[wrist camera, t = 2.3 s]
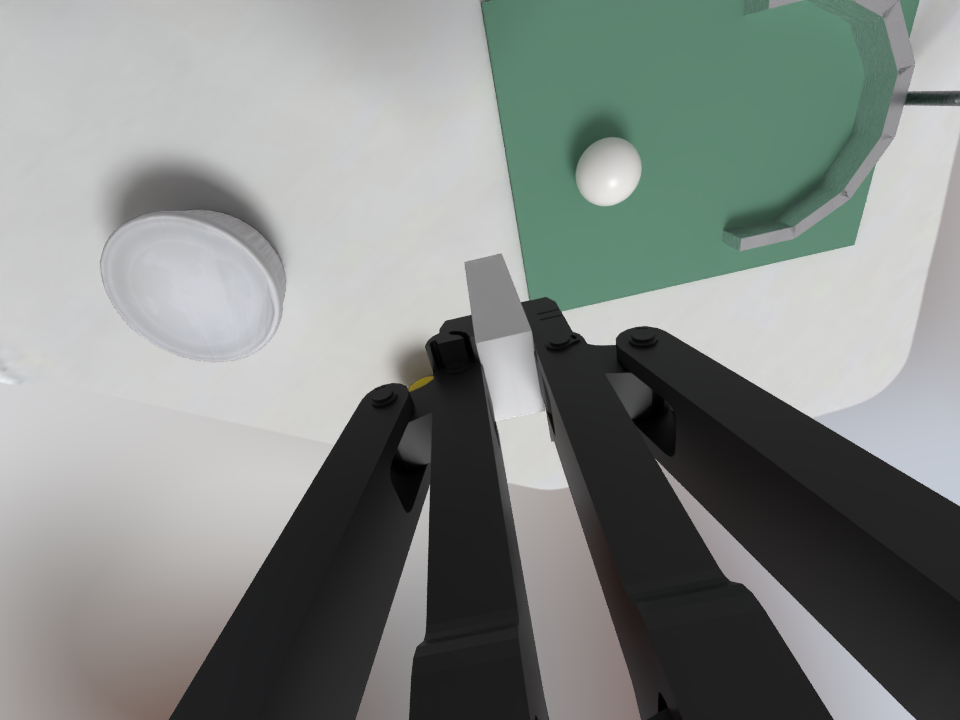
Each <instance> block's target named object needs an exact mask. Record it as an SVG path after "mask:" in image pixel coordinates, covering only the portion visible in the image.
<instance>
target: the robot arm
mask: <svg viewBox="0 0 960 720" xmlns="http://www.w3.org/2000/svg"><path fill="white" fill-rule="evenodd" d="M464 263H465V270H466V277H467V285H468V292H469V299H470V307H471V314H472V315H469V316H465V317H460V318H456V319H452V320H447V321H445V322H444V324H443V325H442V326H441V328H440V332H439V333H438V334H437V335H435V336H433V337H432V338H431V339H430V340H428V341H427V343H426V346H425V348H426V351H427V354H428V357H429V360H430V363H431V366H432V369H433V379H432V380H431V381H430V382H428V383H427V384H426V385H424V386H422V387H420V388H418V389H415V390H413V391H411V392H409V390H408V388H407V387H406V386H405V385H402V384H398V383H391V384H386V385H382V386H380V387H377V388H375V389H374V390H372V391H371V392H369V393H368V394H367V395H366V396H365V397H364V398H363V399H362V401H361V402H360V404H359V406H358V407H357V409H356V411H355V412H354V414H353V415H352V417H351V419H350V420H349V422H348V424H347V425H346V427H345V429H344V430H343V432H342V434H341V435H340V437H339V439H338V440H337V442H336V444H335V445H334V447H333V449H332V450H331V452H330V454H329V455H328V457H327V459H326V460H325V462H324V464H323V465H322V467H321V469H320V470H319V472H318V474H317V475H316V477H315V478H314V480H313V482H312V484H311V485H310V487H309V488H308V490H307V492H306V493H305V495H304V497H303V498H302V500H301V502H300V503H299V505H298V507H297V508H296V510H295V512H294V513H293V515H292V517H291V518H290V520H289V522H288V523H287V525H286V526H285V528H284V530H283V532H282V533H281V535H280V536H279V538H278V540H277V541H276V543H275V545H274V546H273V548H272V550H271V552H270V553H269V555H268V557H267V558H266V560H265V561H264V563H263V565H262V566H261V568H260V569H259V571H258V573H257V574H256V576H255V578H254V579H253V581H252V583H251V584H250V586H249V588H248V589H247V591H246V593H245V594H244V596H243V598H242V599H241V601H240V603H239V604H238V606H237V608H236V609H235V611H234V613H233V614H232V616H231V617H230V619H229V621H228V622H227V624H226V626H225V627H224V629H223V631H222V632H221V634H220V636H219V637H218V639H217V641H216V642H215V644H214V646H213V647H212V649H211V651H210V652H209V654H208V656H207V657H206V659H205V661H204V662H203V664H202V666H201V667H200V669H199V670H198V672H197V674H196V676H195V677H194V679H193V680H192V682H191V684H190V685H189V687H188V689H187V690H186V692H185V694H184V695H183V697H182V699H181V700H180V702H179V704H178V705H177V707H176V709H175V710H174V712H173V714H172V715H171V717H170V719H169V720H355V719H356V716H357V713H358V710H359V706H360V703H361V700H362V696H363V694H364V691H365V687H366V684H367V681H368V678H369V675H370V672H371V668H372V665H373V662H374V659H375V655H376V653H377V650H378V646H379V643H380V640H381V637H382V634H383V630H384V627H385V624H386V621H387V618H388V615H389V612H390V608H391V605H392V602H393V599H394V596H395V592H396V589H397V586H398V583H399V580H400V577H401V574H402V571H403V567H404V564H405V561H406V558H407V555H408V551H409V548H410V545H411V542H412V539H413V536H414V532H415V529H416V526H417V523H418V520H419V517H420V513H421V510H422V507H423V504H424V501H425V498H426V494H427V491H428V488H429V485H430V511H429V548H428V549H429V550H428V583H427V585H428V586H427V618H426V619H427V621H426V634H425V638H424V641H423V642H422V643H421V644H420V645H418V646H417V648H416V651H415V654H414V658H413V666H412V676H411V693H410V713H409V720H549V717H548V712H547V707H546V702H545V697H544V692H543V687H542V681H541V675H540V670H539V664H538V658H537V652H536V647H535V641H534V635H533V629H532V623H531V617H530V612H529V606H528V601H527V594H526V589H525V584H524V577H523V571H522V566H521V560H520V554H519V549H518V543H517V537H516V531H515V525H514V519H513V514H512V508H511V502H510V496H509V491H508V485H507V479H506V473H505V468H504V462H503V456H502V450H501V444H500V439H499V433H498V429H497V425H496V421H500V420H505V419H509V418H514V417H518V416H523V415H528V414H532V413H537V412H542V411H545V407H546V413H547V419H548V425H549V431H550V437H551V442H552V441H554V442H555V445H556V448H557V451H558V454H559V457H560V461H561V464H562V467H563V470H564V473H565V476H566V479H567V482H568V485H569V488H570V491H571V494H572V498H573V500H574V504H575V507H576V510H577V513H578V516H579V519H580V522H581V525H582V528H583V532H584V535H585V538H586V541H587V544H588V547H589V550H590V553H591V556H592V559H593V562H594V565H595V568H596V572H597V575H598V578H599V581H600V584H601V587H602V590H603V593H604V596H605V599H606V602H607V605H608V608H609V611H610V615H611V618H612V621H613V624H614V627H615V630H616V633H617V636H618V640H619V642H620V646H621V648H622V652H623V655H624V658H625V661H626V664H627V667H628V670H629V674H630V677H631V680H632V684H633V687H634V692H635V696H636V700H637V704H638V709H639V713H640V717H641V720H834V719H833V718H832V716H831V715H830V713H829V712H828V710H827V708H826V707H825V705H824V703H823V702H822V701H821V699H820V697H819V696H818V694H817V692H816V691H815V689H814V688H813V686H812V684H811V683H810V681H809V680H808V678H807V677H806V675H805V673H804V672H803V670H802V669H801V667H800V665H799V664H798V662H797V661H796V659H795V658H794V656H793V654H792V653H791V651H790V650H789V648H788V647H787V645H786V643H785V642H784V640H783V638H782V637H781V635H780V634H779V632H778V630H777V629H776V627H775V626H774V624H773V622H772V621H771V620H770V618H769V616H768V615H767V613H766V611H765V610H764V609H763V607H762V606H761V604H760V603H759V601H758V600H757V599H756V597H755V596H754V595H753V593H752V592H751V591H750V590H748V589H747V588H746V587H745V586H744V585H743V584H741V583H736V582H731V581H729V579H727V578H726V577H725V575H724V574H723V573H722V571H721V570H720V568H719V567H718V565H717V563H716V561H715V560H714V558H713V556H712V555H711V553H710V551H709V550H708V548H707V546H706V545H705V543H704V541H703V539H702V538H701V536H700V534H699V533H698V531H697V529H696V528H695V526H694V524H693V522H692V521H691V519H690V517H689V516H688V514H687V512H686V511H685V509H684V507H683V506H682V504H681V502H680V501H679V499H678V497H677V495H676V494H675V492H674V490H673V488H672V487H671V485H670V484H669V482H668V480H667V478H666V477H665V475H664V473H663V472H662V470H661V468H660V466H659V465H658V463H657V461H658V462H659V463H660V464H661V465H662V466H663V467H664V468H665V469H666V470H667V471H668V472H669V473H670V474H671V475H672V476H673V477H674V478H675V479H676V480H677V481H678V482H679V483H681V485H682V486H683V487H684V488H685V489H686V490H687V491H688V492H689V493H690V494H691V495H692V496H693V497H694V498H695V499H696V500H697V501H698V502H699V503H700V504H701V505H702V506H703V507H704V508H705V509H706V510H707V511H708V512H709V513H710V514H711V515H712V516H713V517H714V518H715V519H716V520H717V521H718V522H719V523H720V524H722V526H723V527H724V528H725V529H726V530H727V531H728V532H729V533H730V534H731V535H732V536H733V537H734V538H735V539H736V540H737V541H738V542H739V543H740V544H741V545H742V546H743V547H744V548H745V549H746V550H747V551H748V552H749V553H750V554H751V555H752V556H753V557H754V558H755V559H756V560H757V561H758V562H759V563H760V564H761V565H762V566H763V567H764V568H765V569H766V570H767V571H768V572H769V573H770V574H771V575H772V576H773V577H774V578H775V579H776V580H777V581H778V582H779V583H780V584H781V585H782V586H783V587H784V588H785V589H786V590H787V591H788V592H789V593H790V594H791V595H792V596H793V597H794V598H795V599H796V600H797V601H798V602H799V603H800V604H801V605H802V606H803V607H804V608H805V609H806V610H807V611H808V612H809V613H810V614H811V615H812V616H813V617H814V618H815V619H816V620H817V621H818V622H819V623H820V624H821V625H822V626H823V627H824V628H825V629H826V630H827V631H828V632H829V633H830V634H831V635H832V636H833V637H834V638H835V639H836V640H837V641H838V642H839V643H840V644H841V645H842V646H843V647H844V648H845V649H846V650H847V651H848V652H849V653H850V654H851V655H852V656H853V657H854V658H855V659H856V660H857V661H858V662H859V663H860V664H861V665H862V666H863V667H864V668H865V669H866V670H867V671H868V672H869V673H870V674H871V675H872V676H873V677H874V678H875V679H876V680H877V681H878V682H879V683H880V684H881V685H882V686H883V687H884V688H885V689H886V690H887V691H888V692H889V693H890V694H891V695H892V696H893V697H894V698H895V699H896V700H897V701H898V702H899V703H900V704H901V705H902V706H903V707H904V708H905V709H906V710H907V711H908V712H909V713H910V714H911V715H912V716H913V717H914V718H915V719H916V720H960V506H958V505H957V504H955V503H953V502H952V501H950V500H948V499H946V498H945V497H943V496H941V495H940V494H938V493H936V492H935V491H933V490H931V489H930V488H928V487H926V486H925V485H923V484H921V483H920V482H918V481H916V480H915V479H913V478H911V477H910V476H908V475H906V474H905V473H903V472H901V471H899V470H898V469H896V468H894V467H893V466H891V465H889V464H887V463H886V462H884V461H883V460H881V459H879V458H878V457H876V456H874V455H872V454H871V453H869V452H868V451H866V450H864V449H862V448H861V447H859V446H857V445H855V444H854V443H852V442H851V441H849V440H847V439H846V438H844V437H842V436H840V435H839V434H837V433H836V432H834V431H832V430H831V429H829V428H827V427H825V426H824V425H822V424H820V423H819V422H817V421H815V420H814V419H812V418H810V417H809V416H807V415H805V414H804V413H802V412H800V411H799V410H797V409H795V408H794V407H792V406H790V405H789V404H787V403H785V402H783V401H782V400H780V399H778V398H777V397H775V396H773V395H772V394H770V393H768V392H767V391H765V390H763V389H762V388H760V387H758V386H757V385H755V384H753V383H752V382H750V381H748V380H746V379H745V378H743V377H741V376H740V375H738V374H736V373H735V372H733V371H731V370H730V369H728V368H726V367H725V366H723V365H721V364H720V363H718V362H716V361H715V360H713V359H711V358H709V357H708V356H706V355H704V354H703V353H701V352H699V351H698V350H696V349H694V348H693V347H691V346H689V345H688V344H686V343H684V342H683V341H681V340H679V339H678V338H676V337H674V336H673V335H671V334H669V333H667V332H666V331H663V330H661V329H658V328H653V327H647V326H642V327H635V328H631V329H627V330H625V331H624V332H622V333H620V334H619V335H618V337H617V338H616V345H605V346H600V345H590V344H587V343H586V341H585V339H584V338H583V337H582V336H581V335H580V334H577V333H575V332H572V330H571V328H570V326H569V325H568V323H567V321H566V319H565V317H564V316H563V314H562V312H561V310H560V309H559V307H558V305H557V303H556V302H555V301H553V300H551V299H549V298H547V297H543V298H538V299H534V300H530V301H525V302H520V299H519V297H518V294H517V292H516V289H515V287H514V284H513V281H512V279H511V276H510V274H509V271H508V268H507V266H506V263H505V261H504V258H503V256H502V253H501V254H497V255H493V256H489V257H484V258H480V259H476V260H472V261H467V262H464ZM544 404H545V407H544ZM655 459H656V460H657V461H656V460H655Z"/></svg>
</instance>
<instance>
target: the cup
mask: <svg viewBox="0 0 960 720" xmlns="http://www.w3.org/2000/svg"><path fill="white" fill-rule="evenodd" d="M800 1H804V0H745V2H744V12H743V16H745V15H749V14H753V13H757V12H761V11H765V10H769V9H773V8H777V7H781V6H784V5H788V4H792V3H796V2H800ZM806 1H808V2H810V3H812V4H814V5H816V6H818V7H819V8H821V9H823V10H825V11H827V12H829V13H831V14H833V15H834V16H836V17H838V18H840V19H842V20H844V21H846V22H848V23H850V26H851V29H852V33H853V36H854V39H855V43H856V46H857V49H858V52H859V56H860V59H861V62H862V65H863V69H864V72H865V78H864V83H863V87H862V91H861V96H860V100H859V104H858V109H857V113H856V117H855V122H854V126H853V130H852V134H851V136H850V137H849V139H848V140H847V142H846V143H845V145H844V146H843V148H842V149H841V151H840V152H839V154H838V155H837V157H836V158H835V159H834V161H833V162H832V164H831V165H830V167H829V168H828V170H827V171H826V173H825V174H824V176H823V177H822V179H821V180H820V182H819V183H818V185H817V186H816V187H814V188H813V189H812V190H810V191H809V192H807V193H806V194H805V195H803V196H802V197H801V198H799V199H798V200H797V201H795V202H794V203H793V204H791V205H790V206H789V207H787V208H786V209H784V210H783V211H782V212H780V213H779V214H778V215H776V216H775V217H774V218H772V219H769V220H765V221H761V222H756V223H752V224H748V225H743V226H739V227H735V228H730V229H726V230H723V234H722V243H724V244H726V245H728V246H730V247H732V248H734V249H736V250H738V251H743V250H748V249H752V248H756V247H761V246H765V245H770V244H774V243H778V242H783V241H787V240H791V239H794V238H796V237H798V236H799V235H801V234H802V233H803V232H805V231H806V230H808V229H809V228H810V227H812V226H813V225H815V224H816V223H817V222H819V221H820V220H822V219H823V218H824V217H826V216H827V215H829V214H830V213H831V212H833V211H834V210H836V209H837V208H838V207H840V206H841V205H843V204H844V203H845V202H847V201H848V200H849V198H850V199H851V197H852V196H853V194H854V193H855V192H856V190H857V189H858V188H859V186H860V185H861V183H862V182H863V181H864V179H865V178H866V176H867V175H868V174H869V172H870V171H871V170H872V168H873V167H874V165H875V164H876V163H877V161H878V160H879V158H880V157H881V156H882V154H883V153H884V152H885V150H886V149H887V147H888V146H889V145H890V143H891V142H892V140H893V139H894V138H893V137H895V135H896V131H897V128H898V124H899V120H900V117H901V113H902V110H903V106H904V105H924V106H960V91H914V92H908V88H909V85H910V81H911V78H912V74H913V70H914V67H915V65H914V64H915V61H914V57H913V53H912V48H911V44H910V40H909V36H908V32H907V28H906V24H905V20H904V16H903V12H902V8H901V4H900V0H806Z"/></svg>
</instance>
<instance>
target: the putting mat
mask: <svg viewBox="0 0 960 720" xmlns="http://www.w3.org/2000/svg"><path fill="white" fill-rule="evenodd" d="M744 2H745V0H490V1H486V2H483V3H482V4H481V6H482V12H483V18H484V24H485V30H486V36H487V42H488V48H489V54H490V61H491V67H492V73H493V79H494V85H495V91H496V97H497V103H498V109H499V115H500V122H501V128H502V134H503V140H504V146H505V152H506V158H507V164H508V170H509V176H510V183H511V189H512V195H513V201H514V207H515V213H516V219H517V225H518V231H519V237H520V243H521V250H522V256H523V262H524V268H525V274H526V280H527V286H528V292H529V298H530V300H534V299H538V298H543V297H547V298H549V299H551V300H553V301H555V302H556V303H557V305H558V307H559V309H560V310H561V311H565V310H570V309H574V308H579V307H583V306H587V305H592V304H596V303H601V302H605V301H609V300H614V299H618V298H623V297H627V296H631V295H636V294H640V293H645V292H649V291H653V290H658V289H662V288H667V287H671V286H675V285H680V284H684V283H689V282H693V281H697V280H702V279H706V278H710V277H715V276H719V275H724V274H728V273H732V272H737V271H741V270H746V269H750V268H754V267H759V266H763V265H768V264H772V263H776V262H781V261H785V260H790V259H794V258H798V257H803V256H807V255H812V254H816V253H820V252H825V251H829V250H834V249H838V248H842V247H847V246H851V245H854V244H855V240H856V236H857V233H858V229H859V225H860V221H861V218H862V214H863V210H864V206H865V202H866V199H867V195H868V191H869V187H870V184H871V180H872V176H873V172H874V169H875V165H876V164H875V165H874V167H873V168H872V170H871V171H870V172H869V174H868V175H867V176H866V178H865V179H864V181H863V182H862V183H861V185H860V186H859V188H858V189H857V190H856V192H855V193H854V194H853V196H852V197H851V199H850V198H849V200H848V201H847V202H845V203H844V204H843V205H841V206H840V207H838V208H837V209H836V210H834V211H833V212H831V213H830V214H829V215H827V216H826V217H824V218H823V219H822V220H820V221H819V222H817V223H816V224H815V225H813V226H812V227H810V228H809V229H808V230H806V231H805V232H803V233H802V234H801V235H799V236H798V237H796V238H794V239H791V240H787V241H783V242H778V243H774V244H770V245H765V246H761V247H756V248H752V249H748V250H743V251H738V250H736V249H734V248H732V247H730V246H728V245H726V244H724V243H722V234H723V230H726V229H730V228H735V227H739V226H743V225H748V224H752V223H756V222H761V221H765V220H769V219H772V218H774V217H775V216H776V215H778V214H779V213H780V212H782V211H783V210H784V209H786V208H787V207H789V206H790V205H791V204H793V203H794V202H795V201H797V200H798V199H799V198H801V197H802V196H803V195H805V194H806V193H807V192H809V191H810V190H812V189H813V188H814V187H816V186H817V185H818V183H819V182H820V180H821V179H822V177H823V176H824V174H825V173H826V171H827V170H828V168H829V167H830V165H831V164H832V162H833V161H834V159H835V158H836V157H837V155H838V154H839V152H840V151H841V149H842V148H843V146H844V145H845V143H846V142H847V140H848V139H849V137H850V136H851V134H852V130H853V126H854V122H855V117H856V113H857V109H858V104H859V100H860V96H861V91H862V87H863V83H864V78H865V72H864V69H863V65H862V62H861V59H860V56H859V52H858V49H857V46H856V43H855V39H854V36H853V33H852V29H851V26H850V23H848V22H846V21H844V20H842V19H840V18H838V17H836V16H834V15H833V14H831V13H829V12H827V11H825V10H823V9H821V8H819V7H818V6H816V5H814V4H812V3H810V2H808V1H806V0H804V1H800V2H796V3H792V4H788V5H784V6H781V7H777V8H773V9H769V10H765V11H761V12H757V13H753V14H749V15H745V16H743V12H744ZM918 3H919V0H900V4H901V8H902V12H903V16H904V20H905V24H906V28H907V32H908V36H909V37H910V33H911V29H912V26H913V22H914V18H915V14H916V11H917V7H918ZM608 137H617V138H621V139H624V140H626V141H628V142H629V143H631V144H632V145H633V146H634V147H635V148H636V150H637V151H638V153H639V156H640V159H641V165H642V171H641V177H640V180H639V183H638V185H637V187H636V188H635V190H634V191H633V192H632V194H631V195H630V196H629V197H628V198H626V199H625V200H623V201H622V202H620V203H618V204H615V205H612V206H598V205H595V204H593V203H590V202H589V201H587V200H586V199H585V198H584V197H583V196H582V195H581V193H580V191H579V189H578V187H577V183H576V168H577V164H578V161H579V159H580V157H581V156H582V154H583V153H584V151H585V150H586V149H587V148H588V147H589V146H590V145H591V144H593V143H594V142H596V141H598V140H600V139H603V138H608Z"/></svg>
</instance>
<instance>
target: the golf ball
mask: <svg viewBox="0 0 960 720" xmlns="http://www.w3.org/2000/svg"><path fill="white" fill-rule="evenodd" d="M641 171H642V165H641V159H640V156H639V153H638V151H637V150H636V148H635V147H634V146H633V145H632V144H631V143H629V142H628V141H626V140H624V139H621V138H617V137H608V138H603V139H600V140H598V141H596V142H594V143H593V144H591V145H590V146H589V147H588V148H587V149H586V150H585V151H584V153H583V154H582V156H581V157H580V159H579V161H578V164H577V168H576V183H577V187H578V189H579V191H580V193H581V195H582V196H583V197H584V198H585V199H586V200H587V201H589V202H590V203H593V204H595V205H598V206H612V205H615V204H618V203H620V202H622V201H623V200H625V199H626V198H628V197H629V196H630V195H631V194H632V192H633V191H634V190H635V188H636V187H637V185H638V183H639V180H640V177H641Z"/></svg>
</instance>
